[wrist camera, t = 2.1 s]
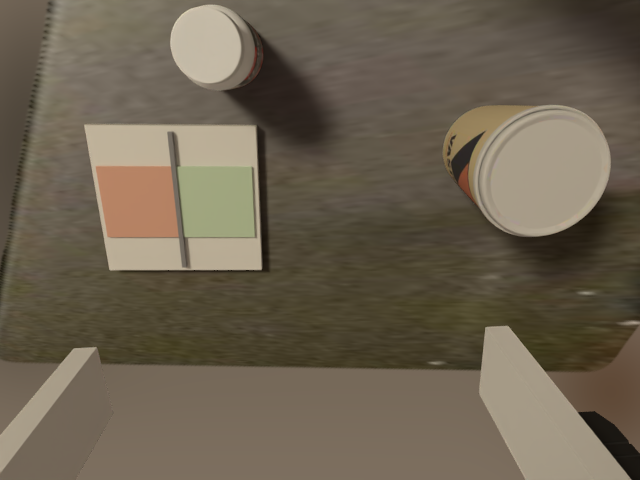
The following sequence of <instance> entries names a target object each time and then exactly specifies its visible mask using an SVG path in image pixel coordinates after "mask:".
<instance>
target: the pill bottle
mask: <svg viewBox="0 0 640 480" xmlns="http://www.w3.org/2000/svg"><path fill="white" fill-rule="evenodd" d="M170 43H171V51H172V55H173V58H174V60H175V62H176V64H177V65H178V67H179V68H180V69H181V71H182V72H183V73H184V74H185V75H186V76H187V77H188V78H189V79H190V80H192V81H193V82H194V83H195V84H197V85H199V86H201V87H203V88H205V89H209V90H214V91H224V90H229V89H234V88H240V87H243V86H245V85H247V84H248V83H250V82H251V81H252V80H253V79H254V78H255V77H256V76H257V74H258V73H259V71H260V69H261V66H262V62H263V47H262V43H261V40H260V38H259V36H258V34H257V32H256V31H255V30H254V28H253V27H252V26H251V25H250V24H249V23H248V22H246V21H245V20H244V19H243V18H241V17H240V16H239V15H238V14H236V13H235V12H234V11H232V10H230V9H228V8H226V7H223V6H219V5H204V6H200V7H195V8H192V9H190V10H188V11H186V12H185V13H183V14H182V15H181V16H180V17H179V18H178V20H177V21H176V23H175V25H174V27H173V29H172V33H171V40H170Z"/></svg>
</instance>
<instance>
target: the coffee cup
mask: <svg viewBox="0 0 640 480" xmlns="http://www.w3.org/2000/svg"><path fill="white" fill-rule="evenodd" d="M443 160H444V164H445V167H446V169H447V171H448V173H449V174H450V176H451V177H452V178H453V180H454V181H455V182H456V183H457V184H458V185H459V186H460V188H461V189H462V190H463V191H464V192H465V193H466V194H467V195H468V196H469V198H470V199H471V200H472V201H473V202H474V203H475V204H476V205H477V206H478V207H479V208H480V210H481V211H482V213H483V214H484V215H485V217H486V218H487V219H488V220H489V221H490V222H491V223H492V224H493V225H494V226H496V227H497V228H499V229H501V230H503V231H505V232H507V233H509V234H512V235H516V236H522V237H539V236H545V235H551V234H554V233H557V232H560V231H563V230H565V229H567V228H569V227H571V226H572V225H574V224H576V223H577V222H578V221H580V220H581V219H582V218H584V217H585V216H586V215H587V214H588V213H589V212H590V211H591V210H592V209H593V207H594V206H595V205H596V203H597V202H598V201H599V199H600V198H601V196H602V194H603V192H604V190H605V187H606V185H607V182H608V179H609V174H610V167H611V157H610V150H609V147H608V144H607V141H606V138H605V137H604V134H603V132H602V131H601V129H600V128H599V126H598V125H597V124H596V123H595V122H594V121H593V120H592V119H591V118H590V117H589V116H587V115H586V114H584V113H583V112H581V111H579V110H576V109H574V108H571V107H567V106H561V105H543V106H511V105H492V106H482V107H478V108H475V109H472V110H470V111H468V112H466V113H465V114H463V115H462V116H461V117H460V118H458V119H457V120H456V121H455V123H454V124H453V125H452V126H451V128H450V129H449V131H448V133H447V135H446V137H445V141H444V145H443Z"/></svg>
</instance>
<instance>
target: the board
mask: <svg viewBox="0 0 640 480" xmlns="http://www.w3.org/2000/svg"><path fill="white" fill-rule="evenodd" d="M84 126H85V132H86V138H87V143H88V149H89V155H90V160H91V166H92V172H93V178H94V183H95V189H96V195H97V201H98V206H99V212H100V218H101V223H102V229H103V235H104V241H105V246H106V252H107V258H108V264H109V269H110V270H262V266H263V262H262V237H261V212H260V188H259V163H258V138H257V125H210V124H86V125H84Z"/></svg>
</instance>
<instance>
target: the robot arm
mask: <svg viewBox="0 0 640 480" xmlns="http://www.w3.org/2000/svg"><path fill="white" fill-rule="evenodd" d="M479 395H480V396H481V398H482V400H483V402H484V404H485V406H486V407H487V409H488V411H489V413H490V415H491V417H492V418H493V420H494V422H495V424H496V426H497V427H498V429H499V431H500V433H501V435H502V437H503V439H504V441H505V442H506V444H507V446H508V448H509V450H510V452H511V453H512V455H513V457H514V459H515V461H516V463H517V464H518V466H519V468H520V470H521V472H522V474H523V476H524V478H525V479H526V480H640V453H639V452H638V451H637V450H636V449H635V448H634V447H633V445H632V444H629V442H628V440H627V439H626V437H624V435H623V434H622V433H621V432H620V431H619V429H618V428H617V427H616V426H615V425H614V424H612V423H611V422H609V421H608V420H606V419H605V418H604V417H602V416H601V415H599V414H598V413H596V412H595V411H594V412H577V411H576V410H575V409H574V408H573V406H572V405H571V404H570V402H569V401H568V400H567V399H566V398H565V396H564V395H563V394H562V393H561V391H560V390H559V389H558V388H557V386H556V385H555V384H554V383H553V381H552V380H551V379H550V378H549V376H548V375H547V374H546V373H545V371H544V370H543V369H542V368H541V366H540V365H539V364H538V363H537V361H536V360H535V359H534V358H533V356H532V355H531V354H530V353H529V351H528V350H527V349H526V348H525V346H524V345H523V344H522V343H521V341H520V340H519V339H518V338H517V336H516V335H515V334H514V333H513V331H512V330H511V329H510V328H509V327H508V326H498V327H486V329H485V338H484V348H483V358H482V368H481V379H480V389H479ZM112 415H113V409H112V405H111V401H110V397H109V393H108V389H107V385H106V382H105V377H104V374H103V370H102V366H101V362H100V358H99V354H98V350H97V347H93V348H74V349H73V350H72V351H71V353H70V354H69V355H68V356H67V357H66V358H65V360H64V361H63V362H62V363H61V364H60V366H59V367H58V368H57V369H56V370H55V372H54V373H53V374H52V375H51V376H50V377H49V379H48V380H47V381H46V382H45V383H44V384H43V386H42V387H41V388H40V389H39V390H38V392H37V393H36V394H35V395H34V396H33V397H32V399H31V400H30V401H29V402H28V403H27V404H26V406H25V407H24V408H23V409H22V410H21V412H20V413H19V414H18V415H17V416H16V417H15V419H14V420H13V421H12V422H11V423H10V425H9V426H8V427H7V428H6V429H5V430H4V432H3V433H2V434H1V435H0V480H76V478H77V477H78V475H79V473H80V471H81V469H82V468H83V466H84V464H85V462H86V461H87V459H88V457H89V455H90V454H91V452H92V450H93V448H94V447H95V445H96V443H97V441H98V440H99V438H100V436H101V434H102V433H103V431H104V429H105V427H106V425H107V424H108V422H109V420H110V418H111V417H112Z"/></svg>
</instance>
